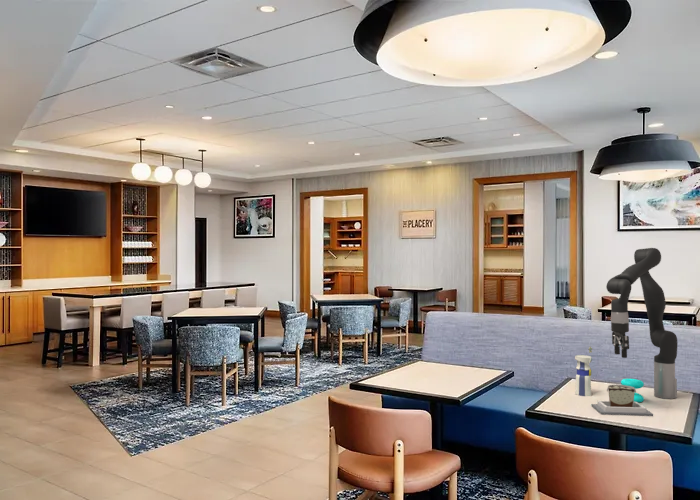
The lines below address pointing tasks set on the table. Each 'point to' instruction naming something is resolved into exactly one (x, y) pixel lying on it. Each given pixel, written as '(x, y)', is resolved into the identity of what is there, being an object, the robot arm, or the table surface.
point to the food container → (621, 395)
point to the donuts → (636, 385)
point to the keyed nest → (621, 409)
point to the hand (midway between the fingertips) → (620, 355)
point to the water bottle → (583, 375)
